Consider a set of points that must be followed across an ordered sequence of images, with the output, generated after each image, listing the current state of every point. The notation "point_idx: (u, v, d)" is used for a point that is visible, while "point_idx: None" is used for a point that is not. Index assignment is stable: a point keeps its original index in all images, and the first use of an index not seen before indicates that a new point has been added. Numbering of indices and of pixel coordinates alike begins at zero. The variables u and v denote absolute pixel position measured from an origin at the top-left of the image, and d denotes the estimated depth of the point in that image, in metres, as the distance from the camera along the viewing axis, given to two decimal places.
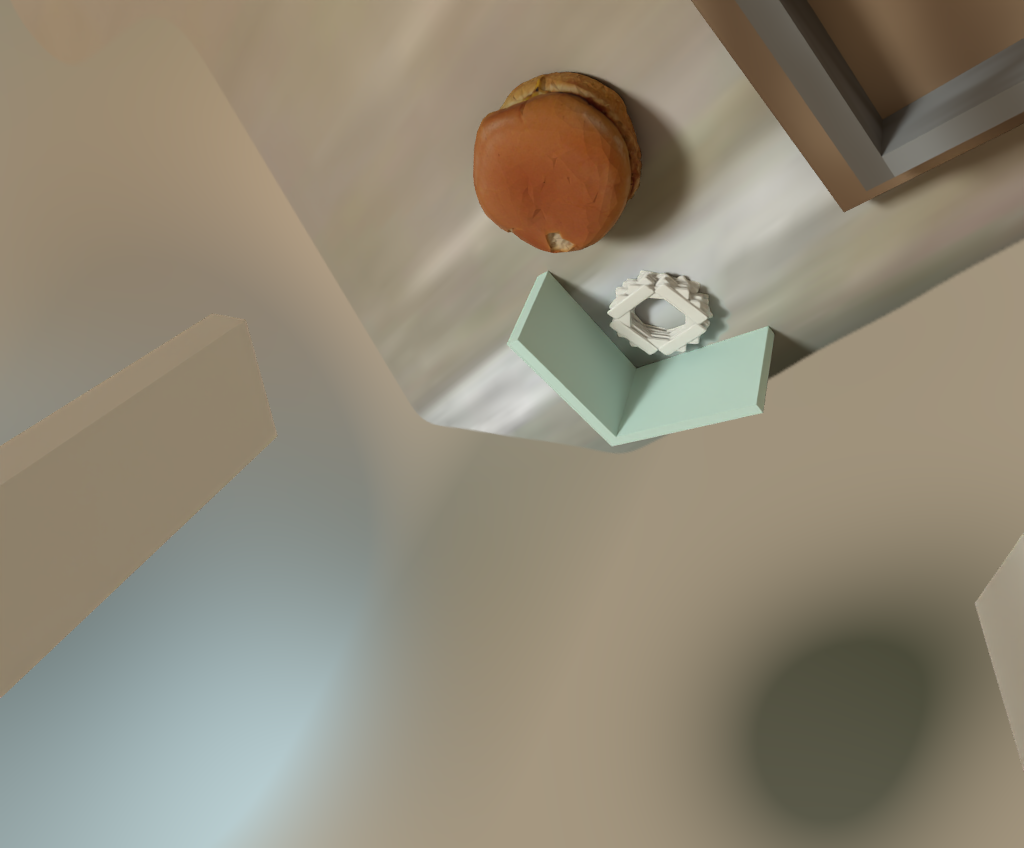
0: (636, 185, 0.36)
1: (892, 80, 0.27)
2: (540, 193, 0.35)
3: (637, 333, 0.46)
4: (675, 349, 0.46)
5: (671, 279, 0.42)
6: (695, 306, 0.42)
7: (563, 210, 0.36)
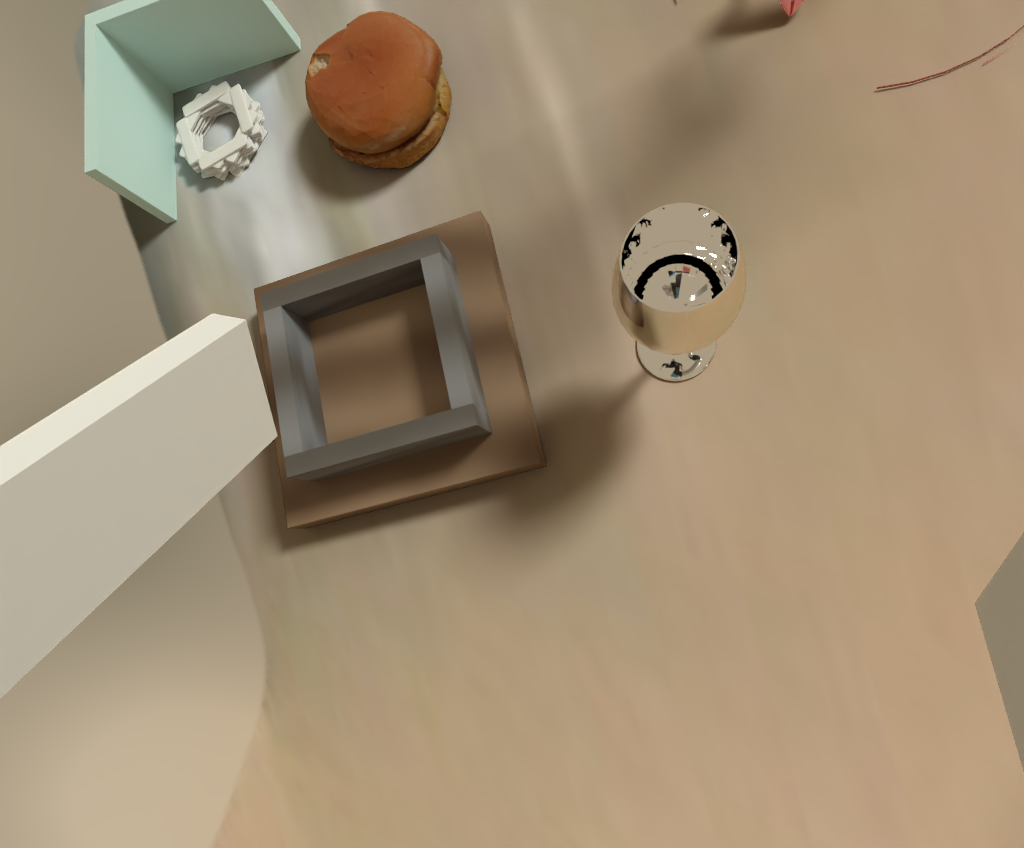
0: (338, 151, 0.43)
1: (330, 330, 0.40)
2: (363, 65, 0.40)
3: (208, 104, 0.47)
4: (180, 132, 0.47)
5: (249, 153, 0.46)
6: (216, 163, 0.45)
7: (342, 79, 0.40)
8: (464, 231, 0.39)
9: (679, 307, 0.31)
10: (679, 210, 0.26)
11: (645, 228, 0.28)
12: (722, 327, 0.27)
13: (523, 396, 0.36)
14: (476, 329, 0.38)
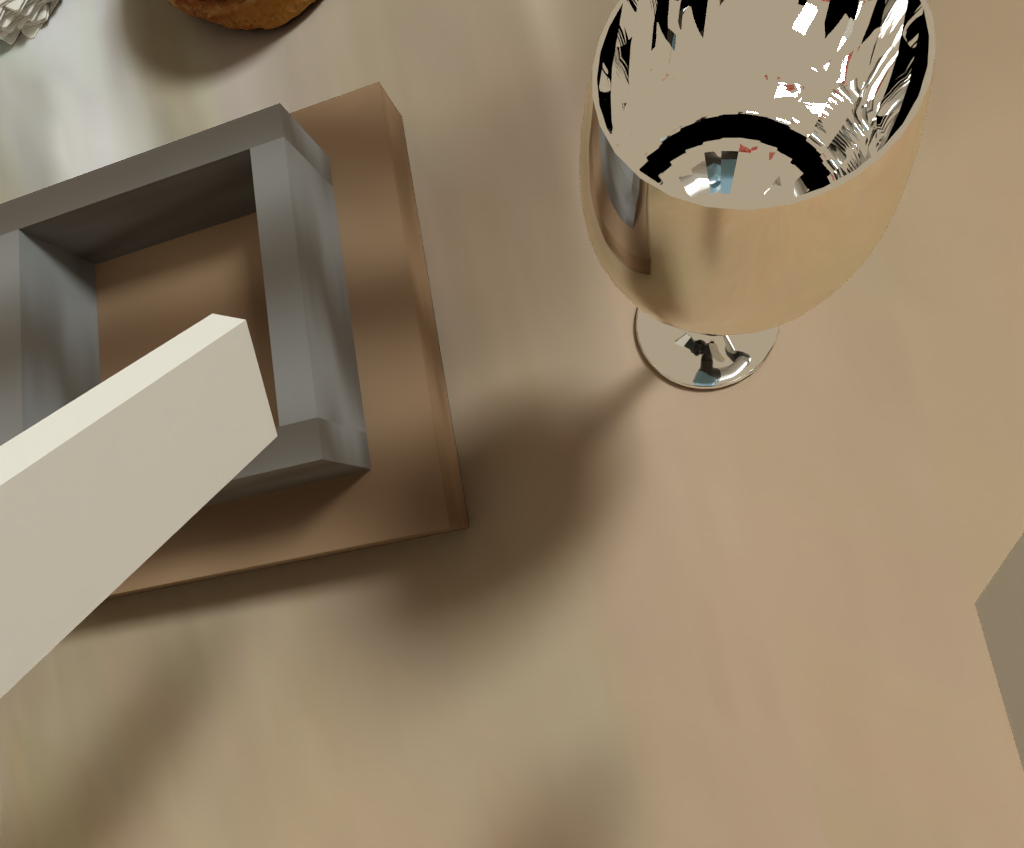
0: None
1: (126, 279, 0.24)
2: None
3: None
4: None
5: None
6: None
7: None
8: (350, 117, 0.23)
9: None
10: None
11: (663, 29, 0.12)
12: (845, 270, 0.11)
13: (428, 405, 0.20)
14: (358, 283, 0.22)
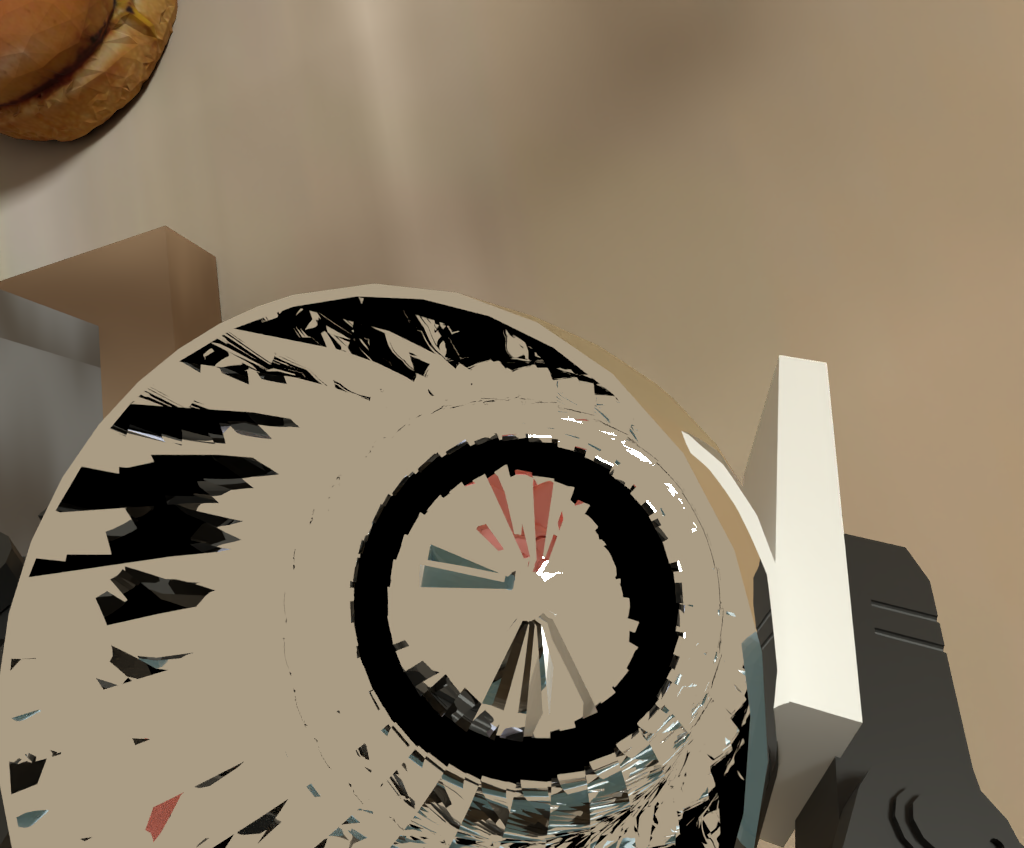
0: None
1: None
2: None
3: None
4: None
5: None
6: None
7: None
8: (127, 272, 0.17)
9: (545, 587, 0.09)
10: (432, 314, 0.05)
11: (329, 369, 0.06)
12: None
13: None
14: None
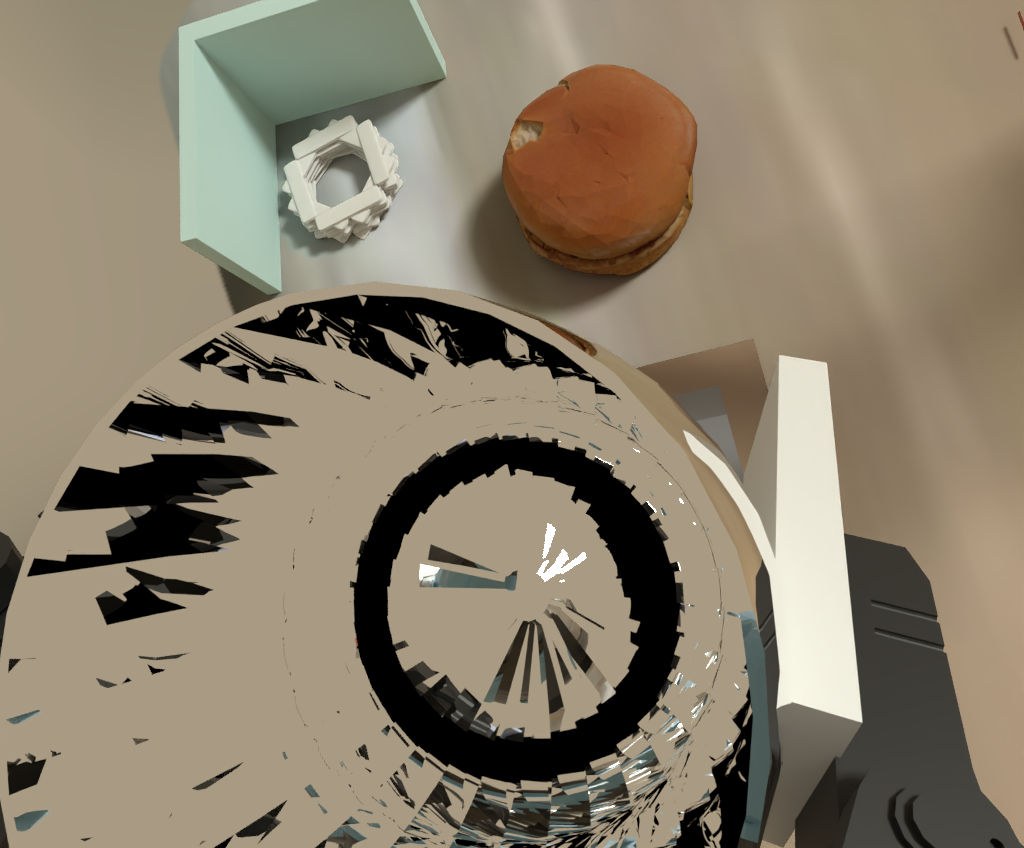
0: (539, 250, 0.32)
1: None
2: (595, 142, 0.29)
3: (327, 144, 0.36)
4: (289, 179, 0.36)
5: (381, 210, 0.35)
6: (339, 222, 0.35)
7: (563, 159, 0.29)
8: (729, 367, 0.28)
9: (545, 587, 0.09)
10: (432, 312, 0.05)
11: (329, 368, 0.06)
12: None
13: None
14: None
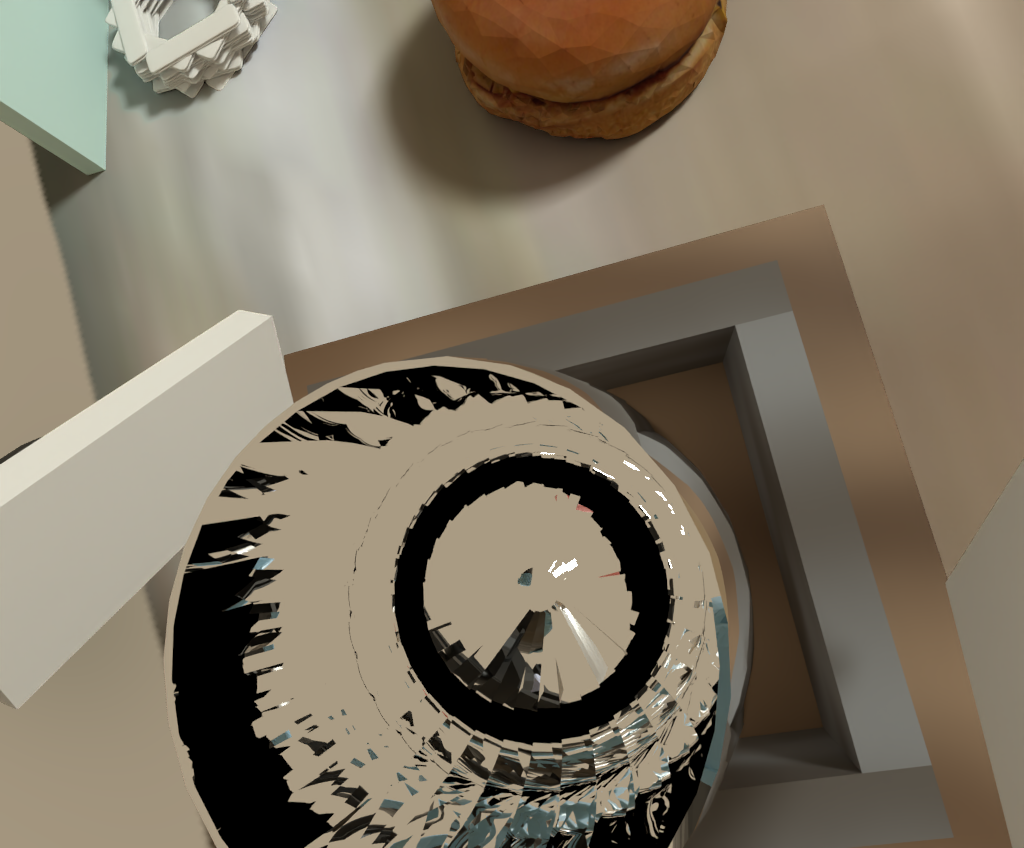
0: (485, 96, 0.20)
1: None
2: None
3: None
4: (114, 6, 0.25)
5: (242, 43, 0.24)
6: (178, 59, 0.24)
7: None
8: (784, 252, 0.17)
9: (554, 582, 0.11)
10: None
11: (386, 404, 0.07)
12: None
13: None
14: None
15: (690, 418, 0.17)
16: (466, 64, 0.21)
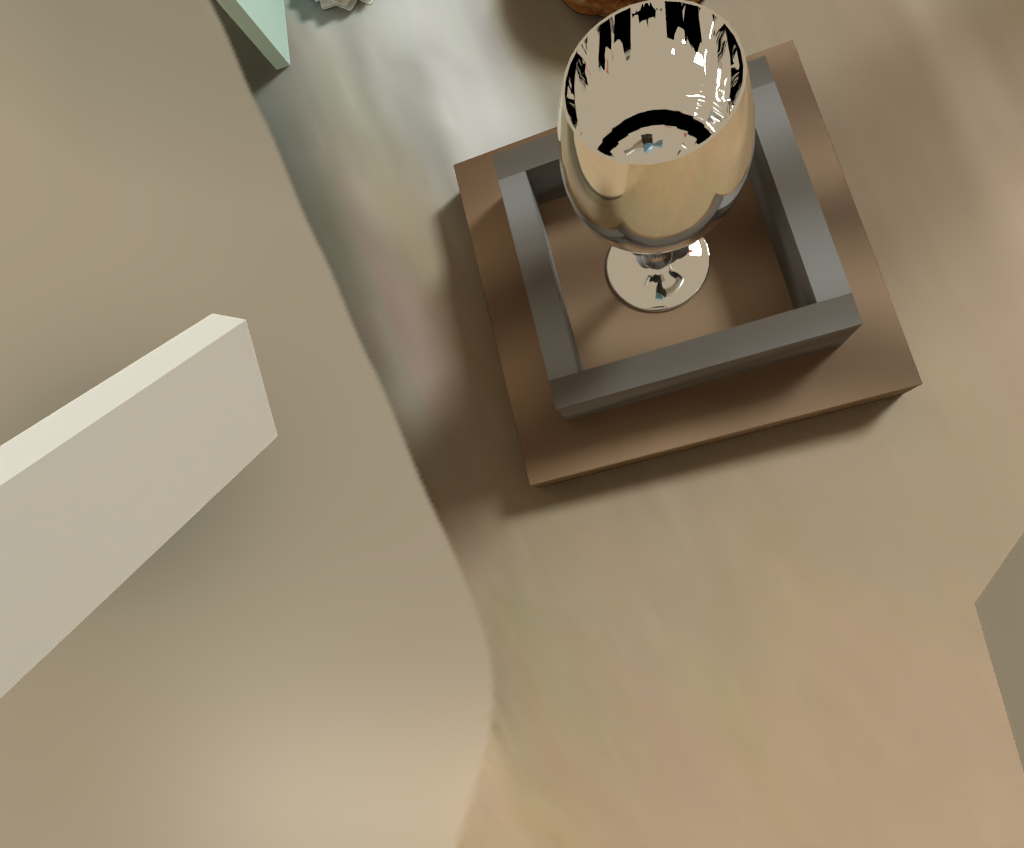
0: None
1: (573, 215, 0.29)
2: None
3: None
4: None
5: None
6: None
7: None
8: (769, 69, 0.28)
9: None
10: (654, 20, 0.17)
11: (605, 59, 0.19)
12: (719, 201, 0.18)
13: (886, 292, 0.25)
14: None
15: None
16: None
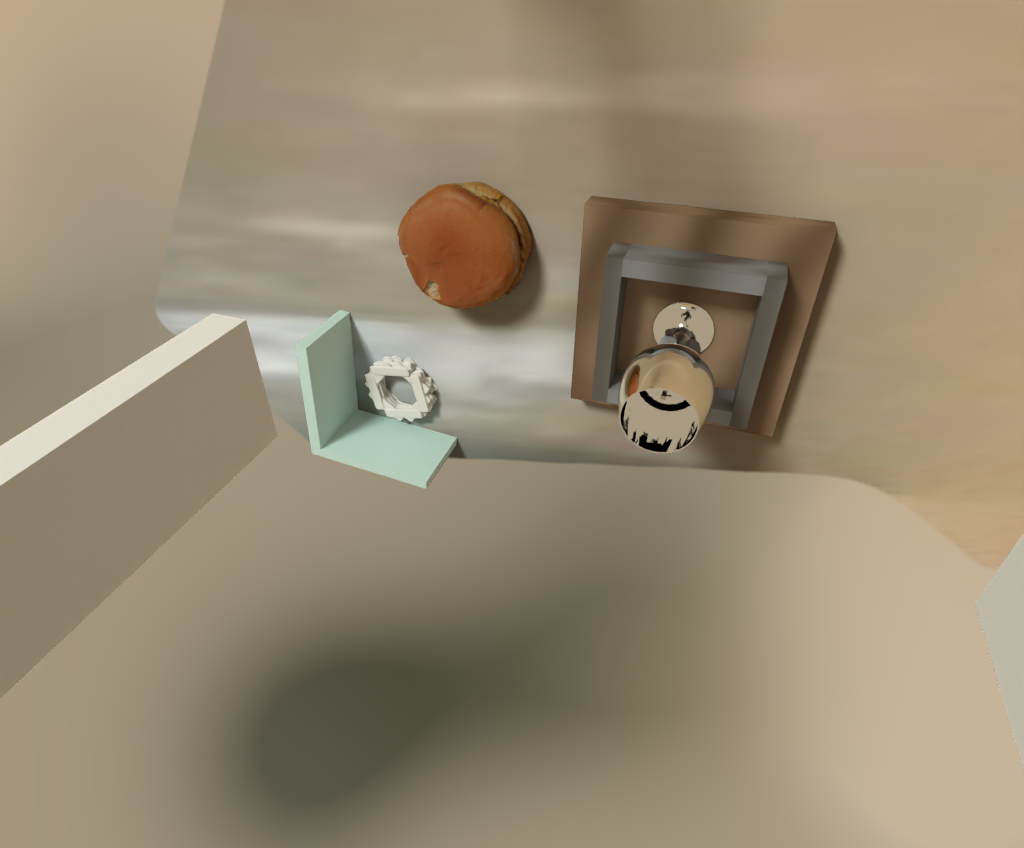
0: (501, 296, 0.50)
1: (631, 356, 0.49)
2: (450, 256, 0.47)
3: (378, 391, 0.61)
4: (395, 416, 0.62)
5: (423, 375, 0.59)
6: (426, 400, 0.60)
7: (455, 277, 0.48)
8: (597, 224, 0.44)
9: None
10: None
11: None
12: (711, 389, 0.38)
13: (770, 225, 0.40)
14: (689, 244, 0.43)
15: None
16: None
